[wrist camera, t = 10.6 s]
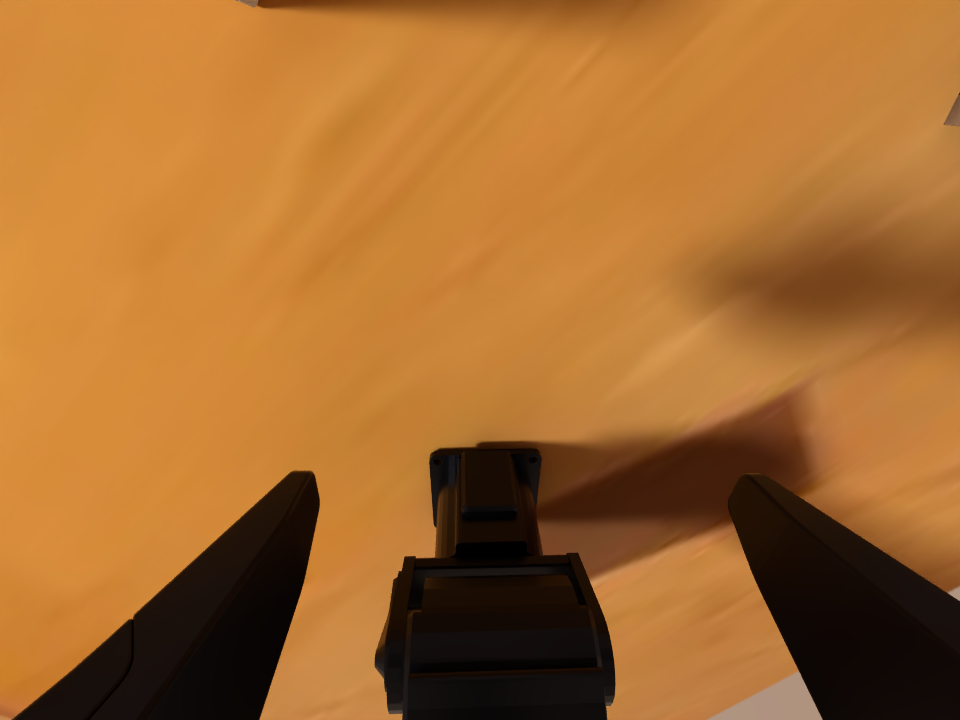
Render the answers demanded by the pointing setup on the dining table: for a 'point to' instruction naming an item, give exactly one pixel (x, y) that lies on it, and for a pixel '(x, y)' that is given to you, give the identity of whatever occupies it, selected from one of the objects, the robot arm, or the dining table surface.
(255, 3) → the small box
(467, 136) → the dining table surface
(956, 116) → the walnut base block
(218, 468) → the dining table surface
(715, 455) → the dining table surface
